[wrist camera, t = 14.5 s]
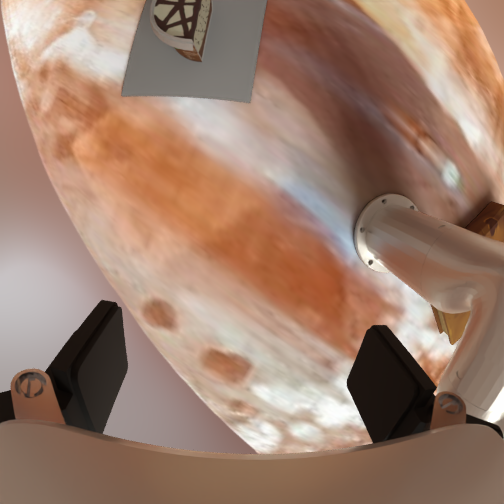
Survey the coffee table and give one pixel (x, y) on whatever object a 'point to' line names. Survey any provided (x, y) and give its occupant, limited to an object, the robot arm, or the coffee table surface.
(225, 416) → the coffee table surface
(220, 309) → the coffee table surface
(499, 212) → the brown flat wooden box
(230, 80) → the mat
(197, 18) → the food container
